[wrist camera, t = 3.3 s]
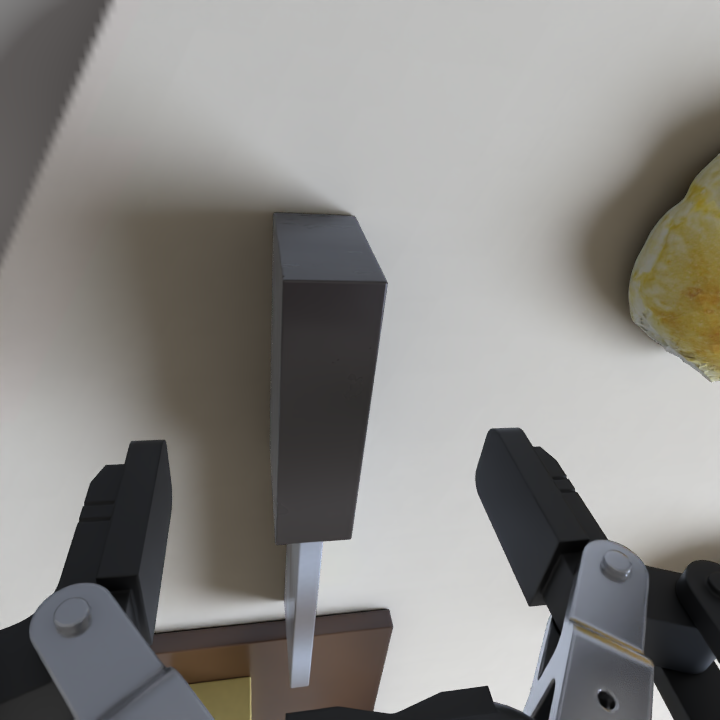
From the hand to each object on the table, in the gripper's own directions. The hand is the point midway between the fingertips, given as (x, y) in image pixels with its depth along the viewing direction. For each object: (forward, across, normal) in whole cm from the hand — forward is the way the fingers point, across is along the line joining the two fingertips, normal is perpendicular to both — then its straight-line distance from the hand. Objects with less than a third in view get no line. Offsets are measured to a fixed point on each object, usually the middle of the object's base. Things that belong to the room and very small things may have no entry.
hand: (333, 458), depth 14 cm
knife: (+6, 0, +5) cm, 8 cm away
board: (+6, +2, +24) cm, 25 cm away
